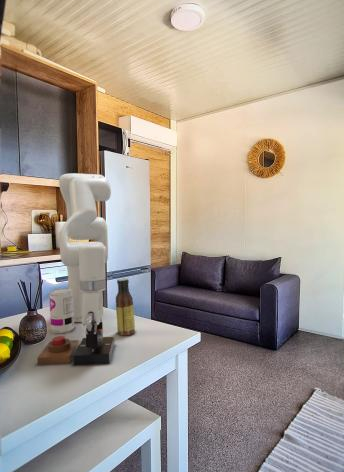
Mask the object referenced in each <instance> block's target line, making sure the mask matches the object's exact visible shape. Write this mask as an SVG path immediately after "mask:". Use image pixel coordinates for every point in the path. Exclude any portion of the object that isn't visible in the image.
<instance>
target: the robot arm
mask: <svg viewBox="0 0 344 472" xmlns="http://www.w3.org/2000/svg"><path fill="white" fill-rule="evenodd" d="M58 184H59V186H58V187H59V190H60V193H61V196H62V198H63V200H64V203H65V206H66V207H65V208H66V221H65V222H64V223H63V225H62V227H61V230H60V232H59V241H58V242H59V255H60V256H59V257H60V261H61V263H62V265H64V266H66V269H67V285H68V287H67V289H70V290H71V292H72V293H73V311H74V323H81V325H82V327H85V326H86V327H85V338H86V347H87V348H90V347H97V346H98V335H97V333H96V330H99V329H102V330H103V331H104V327H103V316H104V294H103V293H104V292H103V291H105V290H107V283H106V280H107V277H106V274H107V273H106V263H107V262H108V260H109V239H108V238H109V237H108V234H109V233H108V225H107V221H106V219H105V218H103V217H101V216H98V211H97V203H96V202H108V201H109V200H110V198H111V194H112V189H111V184H110V182H109V180H108V179H107V177H105V176H104V175H103V174H97V173H96V174H95V173H77V172H74V173H70V172H69V173H64V174H62V175H60V176H59V179H58ZM69 239H70V240H74V241H75V242H70V241H69ZM89 240H93V241H89Z"/></svg>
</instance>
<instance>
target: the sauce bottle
mask: <svg viewBox="0 0 344 472" xmlns="http://www.w3.org/2000/svg"><path fill="white" fill-rule="evenodd" d="M129 282H130V281H129V278H126V277H123V278H118V279H116V283H117V294H116V295H115V310H116V311H115V312H116V314H115V315H116V326H117V327H116V328H117V333H118V335H119V336H130V335H133V334H135V332H136V331H135V328H136V325H135V311H134V300H133V296H132V295H131V292H130V289H129Z"/></svg>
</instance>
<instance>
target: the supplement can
mask: <svg viewBox="0 0 344 472" xmlns="http://www.w3.org/2000/svg"><path fill="white" fill-rule="evenodd" d="M48 297H49V318H50V319H49V321H50V332H52V333H54V334H65V333H69V332H71V331H72V330H73V329H74V328H75V322H74V311H73V293H72V292H71V290H70V289H68V288H58V289H54V290H51V291H50V293H49V296H48Z"/></svg>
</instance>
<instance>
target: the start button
mask: <svg viewBox="0 0 344 472" xmlns="http://www.w3.org/2000/svg"><path fill="white" fill-rule="evenodd" d="M65 339H66V336H65V335H56V336H54V337H53V338H52V340H53V345H62V344H65Z"/></svg>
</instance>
